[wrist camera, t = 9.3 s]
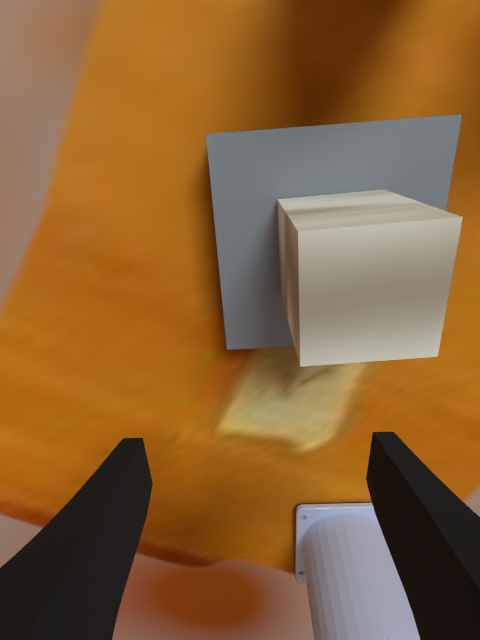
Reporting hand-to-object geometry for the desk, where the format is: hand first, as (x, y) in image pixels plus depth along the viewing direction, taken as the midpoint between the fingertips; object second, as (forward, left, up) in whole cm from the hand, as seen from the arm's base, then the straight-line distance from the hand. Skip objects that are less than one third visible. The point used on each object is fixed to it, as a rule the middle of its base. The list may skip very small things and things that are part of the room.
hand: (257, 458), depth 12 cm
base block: (+4, -4, -11) cm, 12 cm away
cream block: (+5, -4, -8) cm, 10 cm away
